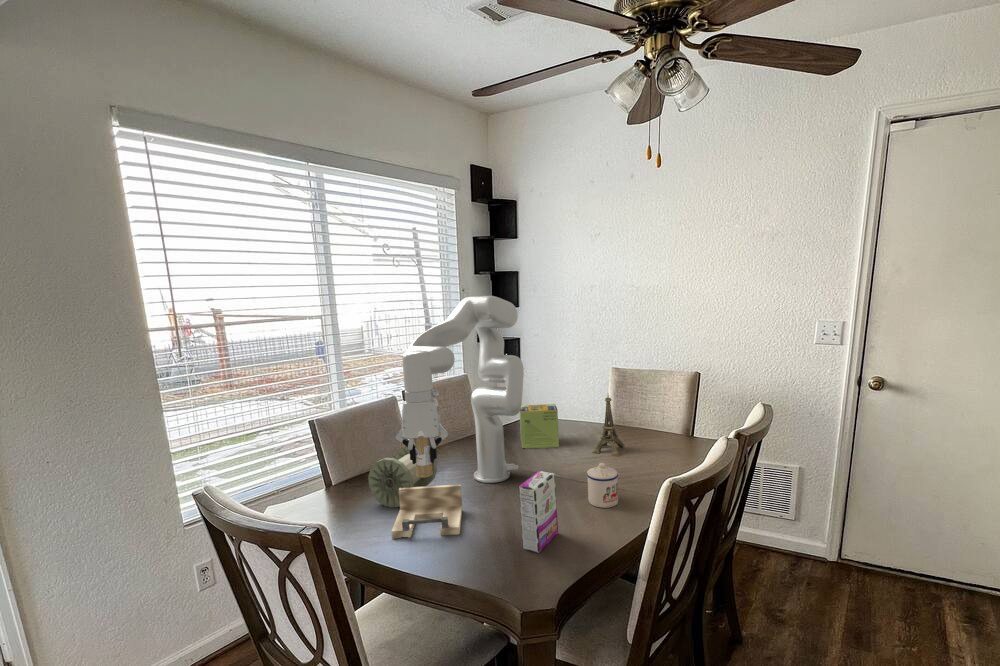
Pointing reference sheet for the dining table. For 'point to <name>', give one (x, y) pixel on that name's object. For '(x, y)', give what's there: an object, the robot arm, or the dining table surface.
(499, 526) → the dining table surface
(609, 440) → the eiffel tower
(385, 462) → the spool
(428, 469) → the sprinkles bottle
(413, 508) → the wooden stand
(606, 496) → the teacup with lid
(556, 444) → the protein box
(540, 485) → the candy bar box
